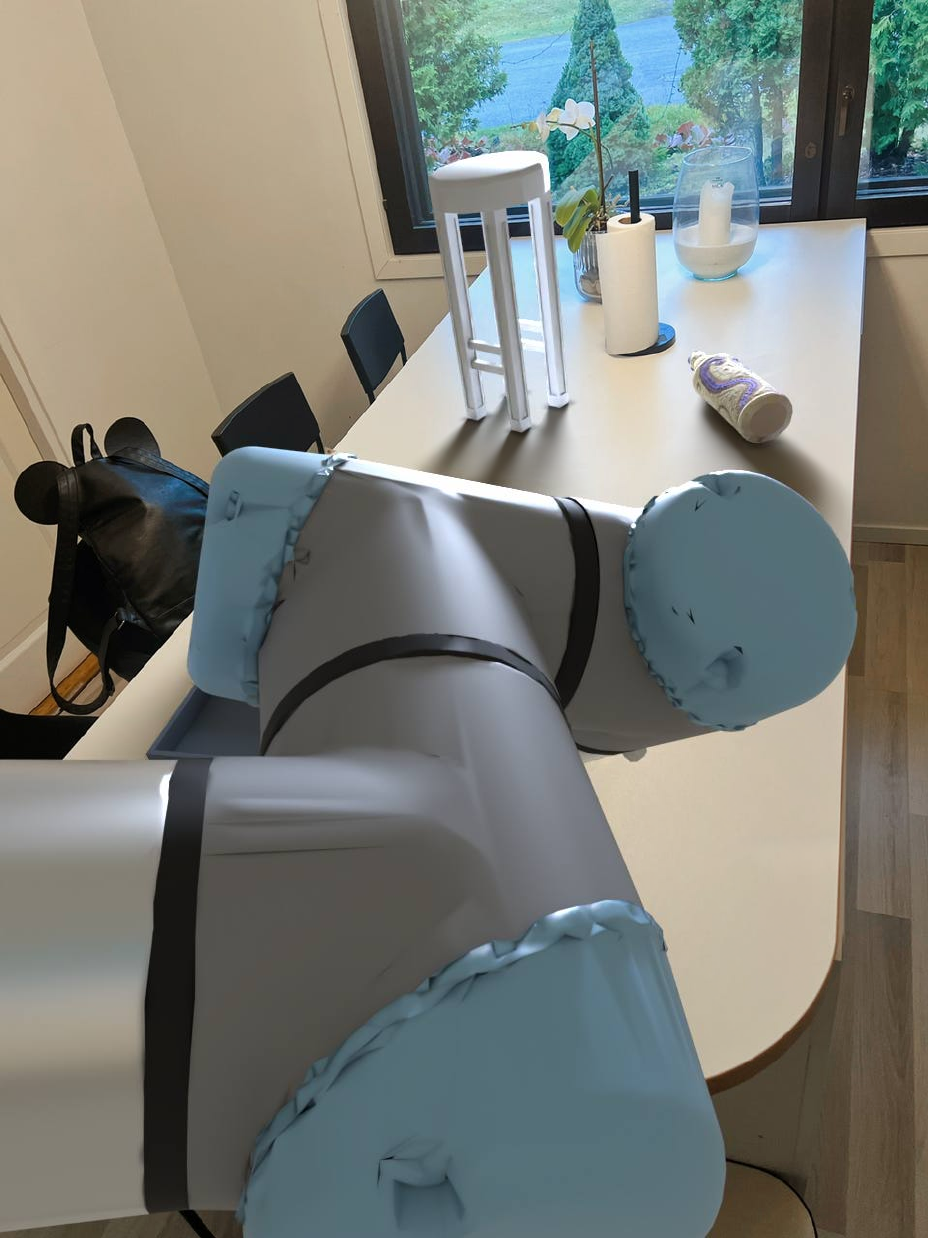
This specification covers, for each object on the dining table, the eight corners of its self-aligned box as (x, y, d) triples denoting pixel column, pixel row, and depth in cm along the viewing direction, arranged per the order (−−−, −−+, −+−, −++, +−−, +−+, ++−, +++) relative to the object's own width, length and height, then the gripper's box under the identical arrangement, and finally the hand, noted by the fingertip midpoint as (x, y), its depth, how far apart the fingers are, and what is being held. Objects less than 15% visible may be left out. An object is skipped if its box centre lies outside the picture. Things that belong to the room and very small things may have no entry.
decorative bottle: (794, 437, 116) (798, 390, 112) (740, 450, 116) (741, 403, 112) (718, 368, 137) (718, 326, 133) (671, 379, 136) (670, 337, 132)
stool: (513, 382, 145) (483, 149, 124) (587, 398, 135) (569, 149, 114) (449, 420, 137) (405, 178, 116) (523, 441, 128) (490, 181, 106)
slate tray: (157, 777, 84) (145, 754, 82) (224, 678, 95) (214, 655, 93) (300, 791, 80) (290, 767, 78) (353, 686, 90) (345, 662, 88)
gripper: (411, 894, 34) (316, 885, 55) (752, 644, 43) (558, 718, 64) (311, 731, 35) (255, 783, 56) (668, 515, 43) (503, 631, 64)
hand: (417, 748), depth 60 cm, fingers closed on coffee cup, 8 cm apart
